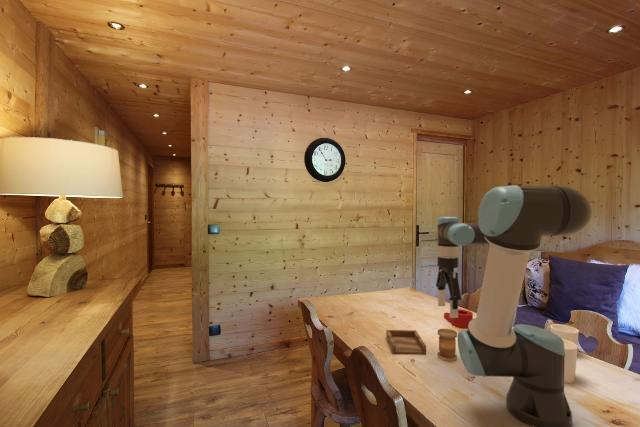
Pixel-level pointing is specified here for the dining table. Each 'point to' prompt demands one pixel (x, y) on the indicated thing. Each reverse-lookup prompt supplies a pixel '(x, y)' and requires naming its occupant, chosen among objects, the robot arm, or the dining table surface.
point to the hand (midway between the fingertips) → (447, 311)
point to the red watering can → (460, 319)
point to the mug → (565, 332)
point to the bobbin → (447, 344)
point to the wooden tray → (405, 342)
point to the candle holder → (570, 361)
